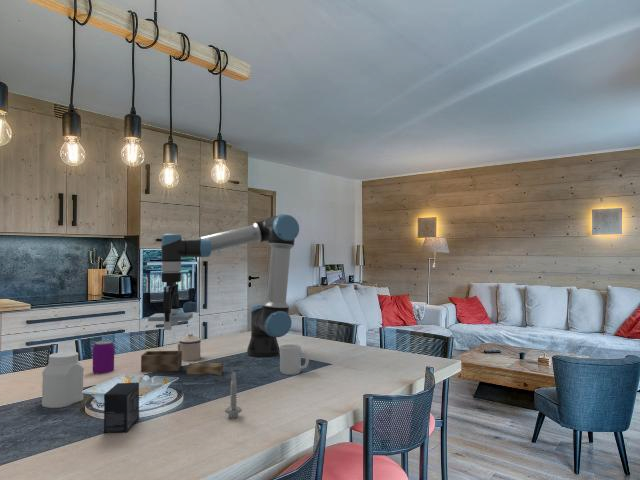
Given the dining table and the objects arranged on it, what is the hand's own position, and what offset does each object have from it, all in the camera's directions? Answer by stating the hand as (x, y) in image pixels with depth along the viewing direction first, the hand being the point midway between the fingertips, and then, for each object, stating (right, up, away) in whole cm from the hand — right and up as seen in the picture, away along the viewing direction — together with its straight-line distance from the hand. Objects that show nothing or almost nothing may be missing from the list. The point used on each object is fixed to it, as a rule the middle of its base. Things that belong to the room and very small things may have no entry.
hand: (171, 327), depth 184 cm
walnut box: (-4, -17, 0) cm, 18 cm away
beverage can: (-26, -17, -3) cm, 31 cm away
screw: (+34, -17, -51) cm, 64 cm away
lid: (0, +3, 0) cm, 3 cm away
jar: (-22, -17, -38) cm, 47 cm away
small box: (+5, -16, -58) cm, 60 cm away
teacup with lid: (+1, -18, +18) cm, 26 cm away
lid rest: (+15, -17, -4) cm, 23 cm away
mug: (+50, -18, -2) cm, 53 cm away
